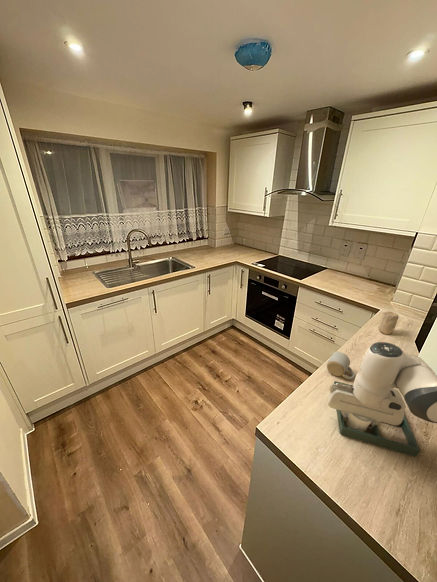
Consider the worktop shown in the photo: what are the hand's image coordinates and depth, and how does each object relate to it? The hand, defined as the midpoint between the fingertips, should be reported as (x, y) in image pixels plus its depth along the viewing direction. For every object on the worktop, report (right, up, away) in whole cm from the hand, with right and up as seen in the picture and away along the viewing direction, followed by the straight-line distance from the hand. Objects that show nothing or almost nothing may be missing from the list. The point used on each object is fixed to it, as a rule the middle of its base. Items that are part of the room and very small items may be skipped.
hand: (356, 422), depth 76 cm
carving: (+49, +19, +55) cm, 76 cm away
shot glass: (0, -2, +1) cm, 2 cm away
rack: (+6, -2, +4) cm, 8 cm away
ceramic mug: (+7, +8, +25) cm, 27 cm away
